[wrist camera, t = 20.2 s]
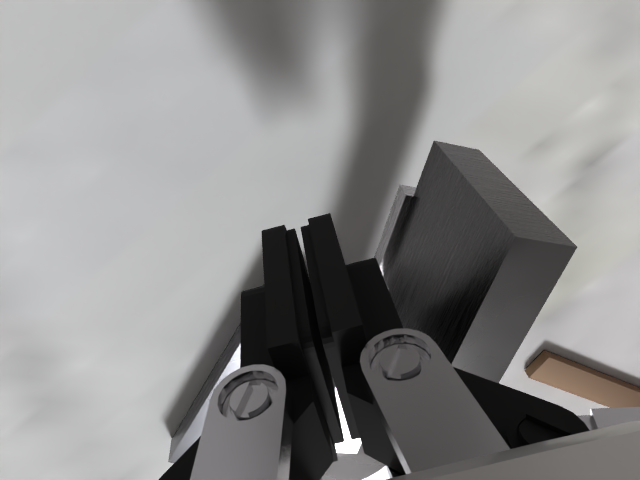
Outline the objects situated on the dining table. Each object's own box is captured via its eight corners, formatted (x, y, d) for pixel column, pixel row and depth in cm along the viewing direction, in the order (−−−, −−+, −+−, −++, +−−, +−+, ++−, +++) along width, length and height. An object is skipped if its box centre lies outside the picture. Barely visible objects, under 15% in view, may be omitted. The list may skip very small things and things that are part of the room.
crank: (373, 466, 21) (412, 630, 16) (250, 461, 20) (252, 635, 15) (523, 144, 14) (667, 261, 9) (348, 107, 13) (409, 218, 8)
